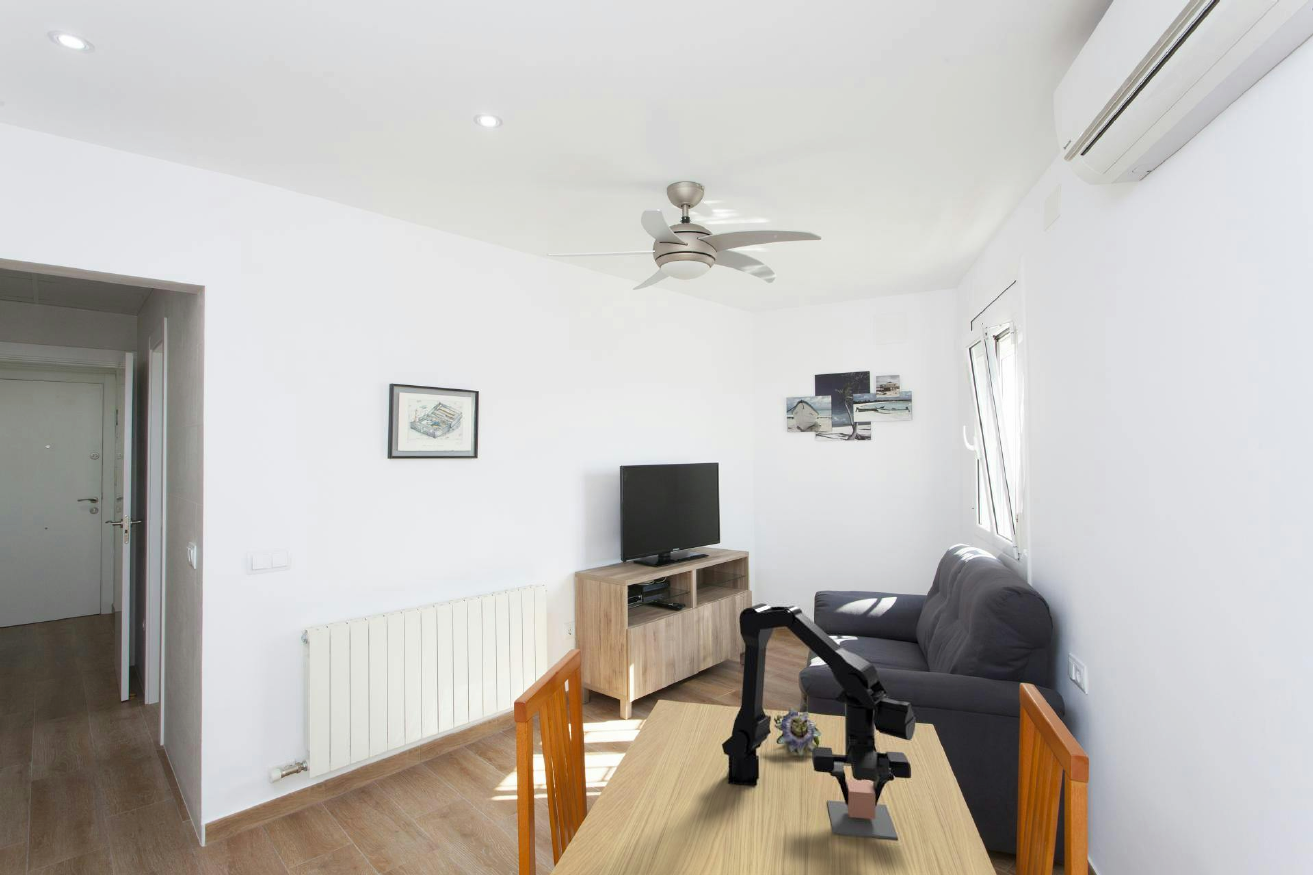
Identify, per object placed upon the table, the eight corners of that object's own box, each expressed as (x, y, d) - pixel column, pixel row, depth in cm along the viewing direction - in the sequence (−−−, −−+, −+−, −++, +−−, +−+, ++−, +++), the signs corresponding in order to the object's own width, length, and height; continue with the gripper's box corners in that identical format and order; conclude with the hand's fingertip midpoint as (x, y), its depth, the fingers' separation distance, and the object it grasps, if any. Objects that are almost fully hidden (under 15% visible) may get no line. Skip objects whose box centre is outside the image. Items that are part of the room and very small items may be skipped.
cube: (849, 816, 131) (849, 791, 131) (846, 803, 136) (845, 779, 136) (875, 818, 130) (875, 793, 130) (871, 805, 135) (870, 781, 135)
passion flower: (800, 777, 162) (778, 744, 158) (779, 750, 172) (758, 718, 169) (835, 748, 164) (814, 714, 160) (812, 723, 174) (792, 691, 171)
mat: (833, 833, 128) (833, 831, 128) (827, 802, 140) (827, 800, 140) (898, 839, 126) (898, 837, 126) (885, 806, 138) (885, 804, 138)
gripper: (816, 740, 127) (816, 822, 126) (917, 746, 124) (918, 830, 124) (811, 717, 138) (811, 793, 137) (904, 723, 135) (905, 800, 135)
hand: (860, 804), depth 133 cm, fingers open, 5 cm apart
